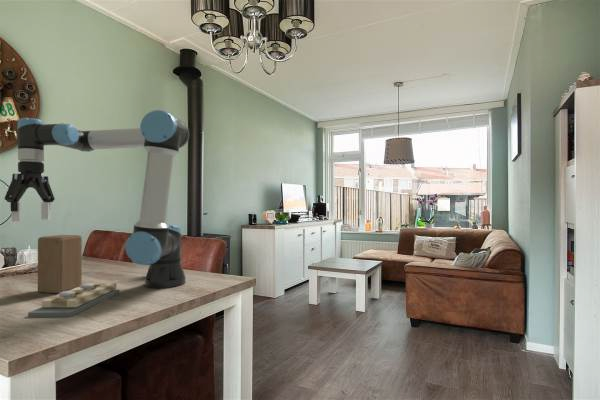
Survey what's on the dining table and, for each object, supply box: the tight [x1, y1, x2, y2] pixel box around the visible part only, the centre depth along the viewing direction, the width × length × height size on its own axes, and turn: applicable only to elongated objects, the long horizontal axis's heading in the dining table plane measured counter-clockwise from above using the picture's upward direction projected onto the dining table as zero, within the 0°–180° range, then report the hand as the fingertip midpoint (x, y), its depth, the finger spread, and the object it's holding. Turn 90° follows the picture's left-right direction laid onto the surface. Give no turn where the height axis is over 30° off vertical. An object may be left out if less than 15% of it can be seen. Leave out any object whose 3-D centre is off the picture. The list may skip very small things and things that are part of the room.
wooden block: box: [37, 234, 83, 294], centre depth 128 cm, size 10×10×20 cm
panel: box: [41, 282, 117, 307], centre depth 113 cm, size 22×10×2 cm, turn 0°
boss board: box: [27, 282, 120, 318], centre depth 111 cm, size 26×12×5 cm, turn 0°
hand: (31, 220), depth 126 cm, fingers open, 13 cm apart
